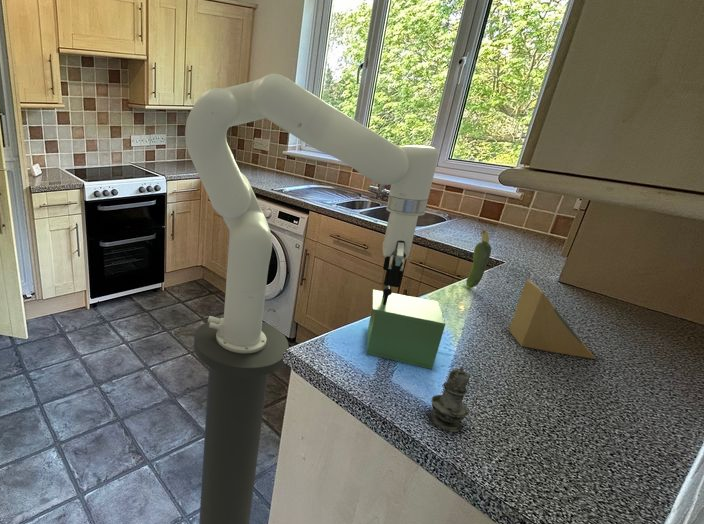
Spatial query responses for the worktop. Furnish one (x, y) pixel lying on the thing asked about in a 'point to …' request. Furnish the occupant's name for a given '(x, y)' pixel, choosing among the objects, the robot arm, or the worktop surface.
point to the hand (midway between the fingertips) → (390, 277)
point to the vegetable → (479, 260)
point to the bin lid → (406, 307)
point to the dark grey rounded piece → (450, 402)
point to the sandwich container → (544, 325)
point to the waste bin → (403, 340)
